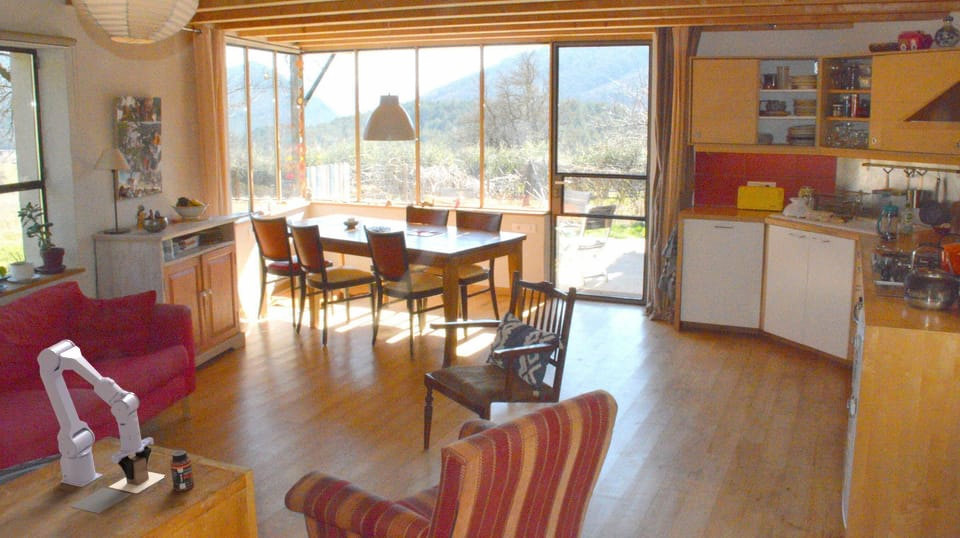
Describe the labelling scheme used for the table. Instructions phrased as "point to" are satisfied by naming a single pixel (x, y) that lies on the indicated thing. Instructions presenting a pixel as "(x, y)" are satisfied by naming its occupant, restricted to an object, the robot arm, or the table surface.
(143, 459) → the walnut block
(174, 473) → the supplement bottle
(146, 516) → the table surface
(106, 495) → the grey mat
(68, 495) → the table surface
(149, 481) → the cream mat
